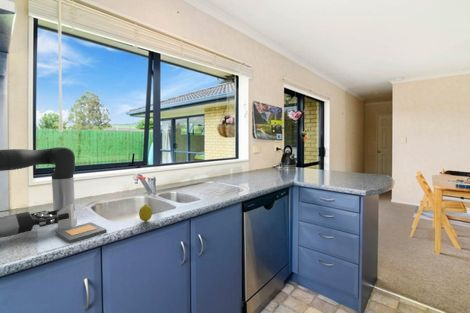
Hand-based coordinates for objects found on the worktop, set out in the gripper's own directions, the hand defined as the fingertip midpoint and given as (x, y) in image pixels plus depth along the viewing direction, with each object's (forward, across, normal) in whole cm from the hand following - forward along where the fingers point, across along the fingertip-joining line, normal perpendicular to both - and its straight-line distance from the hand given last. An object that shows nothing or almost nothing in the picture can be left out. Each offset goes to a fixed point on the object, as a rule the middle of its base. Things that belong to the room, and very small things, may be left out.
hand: (64, 213), depth 103 cm
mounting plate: (+1, +14, -6) cm, 15 cm away
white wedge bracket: (+1, 0, -6) cm, 6 cm away
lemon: (+24, +23, -6) cm, 33 cm away
